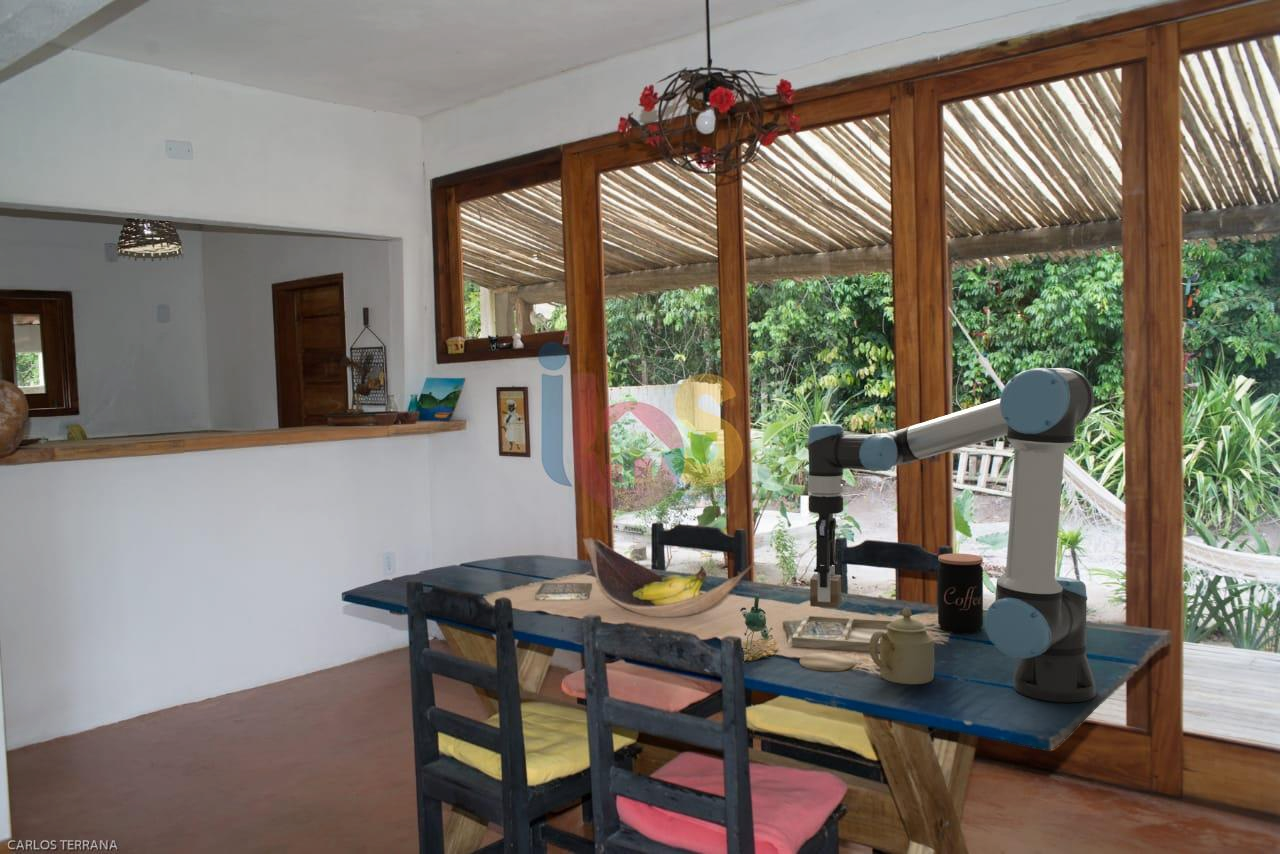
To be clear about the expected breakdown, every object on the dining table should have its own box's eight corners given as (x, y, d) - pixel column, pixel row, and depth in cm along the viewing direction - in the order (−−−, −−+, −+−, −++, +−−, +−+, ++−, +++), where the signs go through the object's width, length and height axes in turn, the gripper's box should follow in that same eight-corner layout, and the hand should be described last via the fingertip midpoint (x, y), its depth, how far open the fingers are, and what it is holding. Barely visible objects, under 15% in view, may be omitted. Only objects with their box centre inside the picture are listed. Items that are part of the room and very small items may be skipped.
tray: (892, 655, 222) (892, 644, 222) (791, 647, 229) (791, 637, 229) (898, 630, 243) (898, 620, 243) (806, 624, 250) (806, 615, 250)
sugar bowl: (921, 693, 195) (921, 619, 195) (867, 685, 201) (867, 613, 200) (940, 673, 208) (939, 603, 207) (888, 666, 214) (888, 598, 213)
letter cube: (837, 607, 212) (837, 580, 212) (810, 606, 214) (810, 578, 214) (841, 601, 218) (841, 574, 218) (814, 600, 220) (814, 573, 220)
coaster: (851, 673, 209) (851, 671, 209) (795, 668, 213) (795, 666, 213) (857, 657, 220) (857, 655, 220) (804, 653, 224) (804, 651, 224)
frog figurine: (796, 647, 230) (793, 587, 228) (756, 674, 216) (752, 610, 214) (761, 640, 236) (758, 581, 234) (720, 666, 222) (715, 604, 220)
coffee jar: (939, 633, 240) (939, 560, 239) (936, 622, 250) (936, 552, 249) (985, 635, 237) (985, 561, 236) (980, 624, 248) (980, 553, 247)
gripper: (837, 500, 204) (838, 609, 206) (848, 489, 222) (848, 589, 224) (801, 499, 207) (802, 606, 208) (814, 488, 225) (815, 587, 226)
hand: (826, 597), depth 216 cm, fingers closed on letter cube, 6 cm apart
